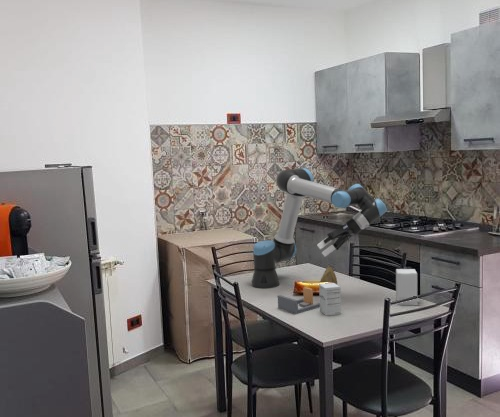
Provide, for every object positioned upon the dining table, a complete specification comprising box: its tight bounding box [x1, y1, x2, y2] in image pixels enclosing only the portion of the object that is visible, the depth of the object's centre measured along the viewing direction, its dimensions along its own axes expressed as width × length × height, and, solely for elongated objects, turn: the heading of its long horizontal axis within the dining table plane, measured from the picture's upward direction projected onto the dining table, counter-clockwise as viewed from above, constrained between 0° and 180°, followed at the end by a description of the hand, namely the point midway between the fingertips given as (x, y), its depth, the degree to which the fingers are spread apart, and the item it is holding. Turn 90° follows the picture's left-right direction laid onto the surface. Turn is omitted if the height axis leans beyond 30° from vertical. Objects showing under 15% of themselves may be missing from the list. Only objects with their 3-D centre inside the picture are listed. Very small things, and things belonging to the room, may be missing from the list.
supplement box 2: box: [395, 268, 418, 306], centre depth 239 cm, size 9×9×15 cm
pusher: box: [298, 286, 314, 308], centre depth 241 cm, size 5×5×8 cm
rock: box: [319, 265, 338, 285], centre depth 273 cm, size 11×9×10 cm
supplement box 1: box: [318, 283, 342, 317], centre depth 229 cm, size 7×7×13 cm
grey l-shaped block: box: [277, 294, 320, 315], centre depth 239 cm, size 12×20×6 cm, turn 127°
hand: (320, 251), depth 244 cm, fingers open, 13 cm apart
